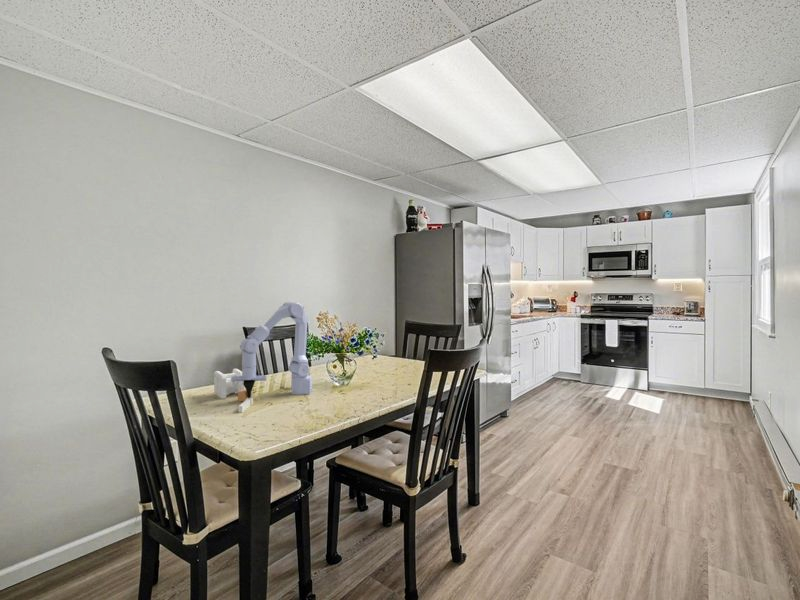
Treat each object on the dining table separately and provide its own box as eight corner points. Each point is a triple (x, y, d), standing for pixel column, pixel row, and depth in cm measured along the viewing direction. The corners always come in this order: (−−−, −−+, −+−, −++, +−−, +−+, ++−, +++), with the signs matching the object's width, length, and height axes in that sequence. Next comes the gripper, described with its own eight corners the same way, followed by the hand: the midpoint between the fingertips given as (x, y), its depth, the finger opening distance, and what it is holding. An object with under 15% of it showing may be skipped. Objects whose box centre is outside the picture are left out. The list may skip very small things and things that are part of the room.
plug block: (251, 398, 182) (251, 389, 182) (245, 401, 178) (245, 391, 178) (244, 398, 183) (243, 389, 183) (238, 401, 179) (237, 392, 179)
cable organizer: (245, 398, 188) (245, 373, 188) (220, 402, 182) (220, 375, 181) (236, 391, 200) (236, 367, 200) (212, 394, 194) (212, 370, 193)
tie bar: (253, 403, 175) (253, 398, 175) (243, 412, 163) (243, 406, 163) (247, 403, 175) (247, 398, 175) (237, 412, 163) (237, 406, 163)
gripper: (267, 364, 184) (267, 394, 184) (233, 365, 182) (233, 395, 182) (265, 367, 177) (265, 398, 177) (229, 368, 175) (229, 400, 175)
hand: (249, 397), depth 179 cm, fingers closed, pressing on plug block
